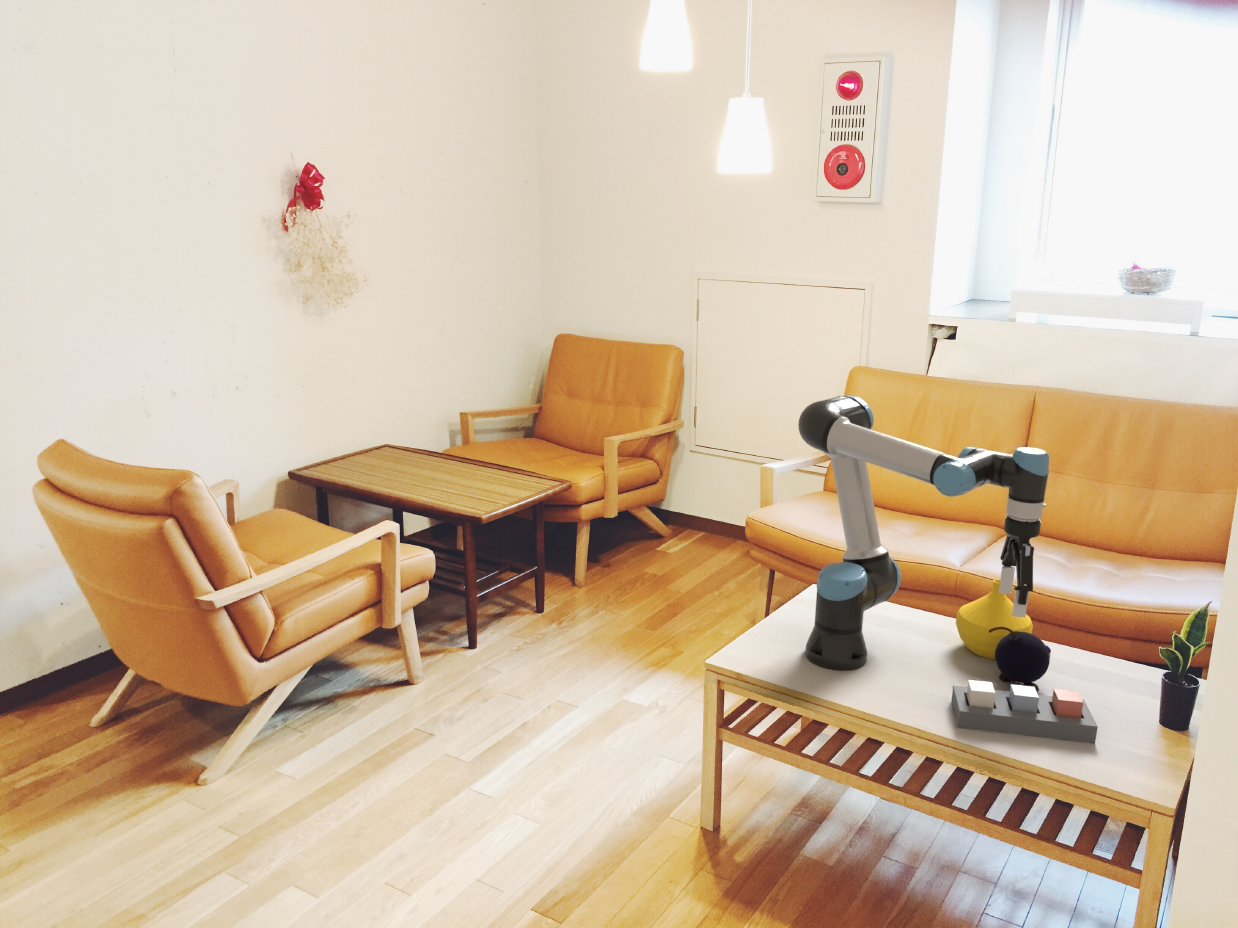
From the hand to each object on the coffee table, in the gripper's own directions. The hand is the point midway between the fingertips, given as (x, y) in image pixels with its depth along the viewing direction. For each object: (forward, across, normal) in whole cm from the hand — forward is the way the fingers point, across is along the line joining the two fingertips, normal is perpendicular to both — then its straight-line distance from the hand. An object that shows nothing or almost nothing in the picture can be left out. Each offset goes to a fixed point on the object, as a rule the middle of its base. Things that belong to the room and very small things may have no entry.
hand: (1011, 604), depth 225 cm
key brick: (+18, -15, -10) cm, 26 cm away
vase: (+22, +22, -2) cm, 31 cm away
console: (+22, -14, -1) cm, 26 cm away
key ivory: (+18, -14, +8) cm, 24 cm away
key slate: (+18, -14, -1) cm, 23 cm away
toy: (+22, +4, -4) cm, 23 cm away
